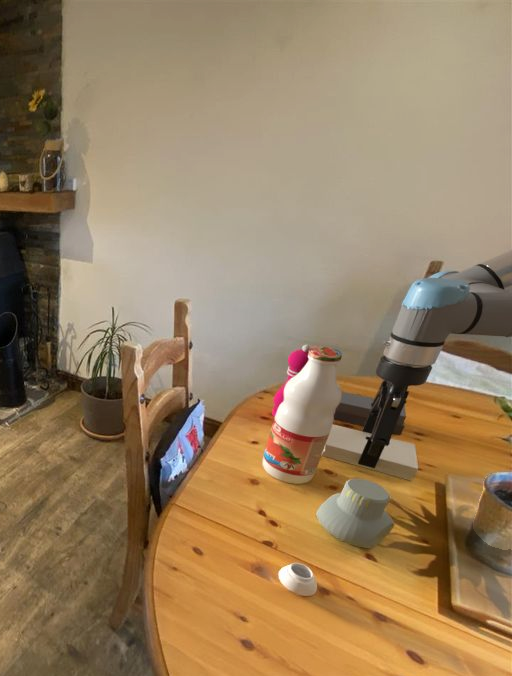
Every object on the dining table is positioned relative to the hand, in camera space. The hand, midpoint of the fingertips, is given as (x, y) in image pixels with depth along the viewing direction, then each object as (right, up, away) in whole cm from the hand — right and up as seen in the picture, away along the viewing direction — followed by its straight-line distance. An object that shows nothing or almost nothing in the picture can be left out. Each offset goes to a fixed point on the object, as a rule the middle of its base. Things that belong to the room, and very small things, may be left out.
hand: (366, 452), depth 91 cm
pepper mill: (-6, +6, +17) cm, 19 cm away
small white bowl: (-33, -17, -25) cm, 45 cm away
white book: (0, +1, 0) cm, 1 cm away
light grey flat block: (0, -1, +1) cm, 1 cm away
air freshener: (-18, -12, -17) cm, 27 cm away
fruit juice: (-19, -4, -1) cm, 19 cm away
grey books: (+11, +6, +13) cm, 18 cm away
